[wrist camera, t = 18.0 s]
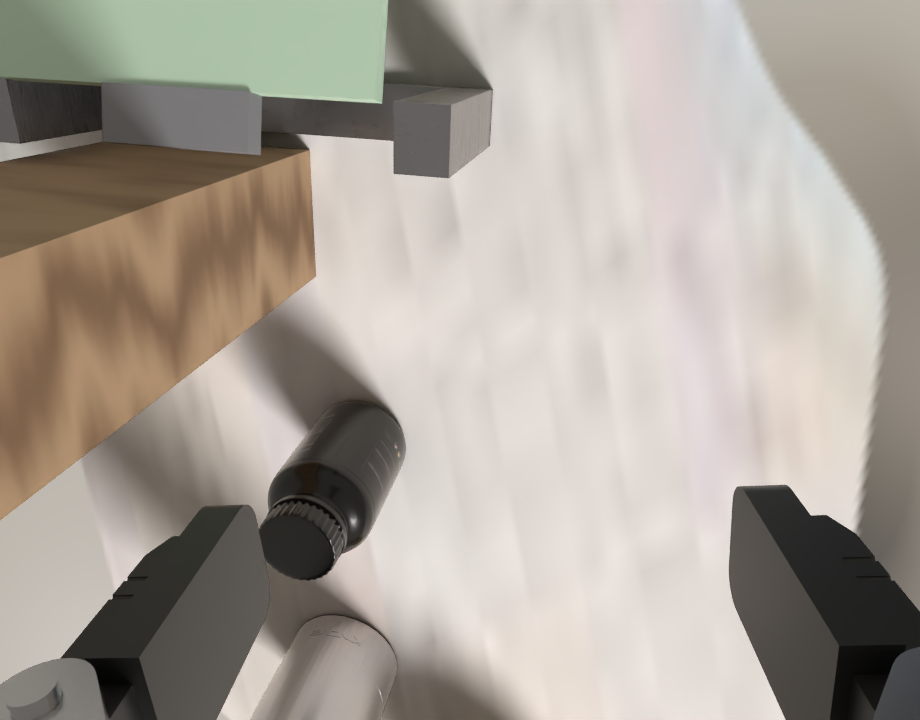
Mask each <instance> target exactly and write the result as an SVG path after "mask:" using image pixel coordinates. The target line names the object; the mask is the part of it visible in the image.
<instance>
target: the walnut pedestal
mask: <svg viewBox="0 0 920 720" xmlns="http://www.w3.org/2000/svg"><path fill="white" fill-rule="evenodd" d="M315 277H316V267H315V248H314V229H313V210H312V190H311V171H310V152H309V150H305V149H291V148H278V147H265V146H261V155H252V154H239V153H226V152H213V151H201V150H188V149H175V148H162V147H150V146H137V145H124V144H116V143H110V142H100V143H95V144H90V145H85V146H79V147H74V148H69V149H64V150H59V151H54V152H49V153H44V154H39V155H33V156H28V157H23V158H18V159H13V160H8V161H3V162H0V520H1V519H2V518H4V517H5V516H6V515H8V514H9V513H10V512H12V511H13V510H14V509H15V508H17V507H18V506H19V505H21V504H22V503H23V502H25V501H26V500H27V499H28V498H30V497H31V496H32V495H33V494H35V493H36V492H37V491H39V490H40V489H41V488H43V487H44V486H45V485H46V484H48V483H49V482H50V481H52V480H53V479H54V478H56V477H57V476H58V475H59V474H61V473H62V472H63V471H65V470H66V469H67V468H69V467H70V466H71V465H72V464H74V463H75V462H76V461H78V460H79V459H80V458H81V457H83V456H84V455H85V454H87V453H88V452H89V451H91V450H92V449H93V448H94V447H96V446H97V445H98V444H100V443H101V442H102V441H103V440H105V439H106V438H107V437H109V436H110V435H111V434H113V433H114V432H115V431H116V430H118V429H119V428H120V427H122V426H123V425H124V424H125V423H127V422H128V421H129V420H131V419H132V418H133V417H135V416H136V415H137V414H138V413H140V412H141V411H142V410H144V409H145V408H146V407H147V406H149V405H150V404H151V403H153V402H154V401H155V400H157V399H158V398H159V397H160V396H162V395H163V394H164V393H166V392H167V391H168V390H170V389H171V388H172V387H173V386H175V385H176V384H177V383H179V382H180V381H181V380H182V379H184V378H185V377H186V376H188V375H189V374H190V373H192V372H193V371H194V370H195V369H197V368H198V367H199V366H201V365H202V364H203V363H204V362H206V361H207V360H208V359H210V358H211V357H212V356H214V355H215V354H216V353H217V352H219V351H220V350H221V349H223V348H224V347H225V346H226V345H228V344H229V343H230V342H232V341H233V340H234V339H236V338H237V337H238V336H239V335H241V334H242V333H243V332H245V331H246V330H247V329H248V328H250V327H251V326H252V325H254V324H255V323H256V322H258V321H259V320H260V319H261V318H263V317H264V316H265V315H267V314H268V313H269V312H270V311H272V310H273V309H274V308H276V307H277V306H278V305H280V304H281V303H282V302H283V301H285V300H286V299H287V298H289V297H290V296H291V295H292V294H294V293H295V292H296V291H298V290H299V289H300V288H302V287H303V286H304V285H305V284H307V283H308V282H309V281H311V280H312V279H313V278H315Z"/></svg>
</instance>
